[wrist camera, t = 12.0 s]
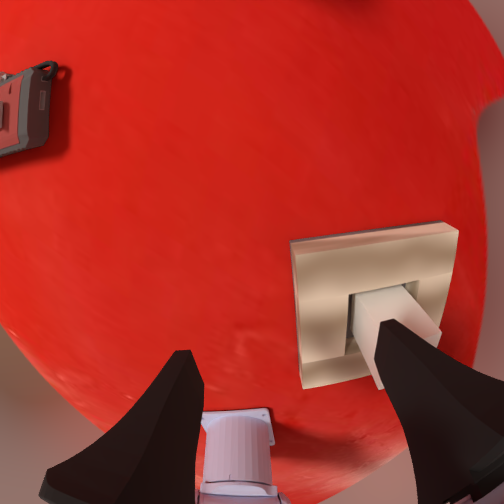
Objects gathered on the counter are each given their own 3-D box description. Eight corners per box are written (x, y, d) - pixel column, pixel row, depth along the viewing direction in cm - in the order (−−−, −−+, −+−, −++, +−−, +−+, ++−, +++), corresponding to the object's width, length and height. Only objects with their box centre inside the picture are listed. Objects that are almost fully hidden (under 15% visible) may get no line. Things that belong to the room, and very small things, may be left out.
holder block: (418, 341, 24) (429, 356, 21) (298, 369, 24) (303, 389, 22) (440, 220, 19) (458, 230, 16) (289, 240, 19) (295, 255, 17)
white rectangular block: (391, 319, 22) (426, 373, 15) (350, 328, 22) (378, 389, 15) (396, 279, 20) (442, 332, 14) (352, 288, 20) (389, 349, 14)
